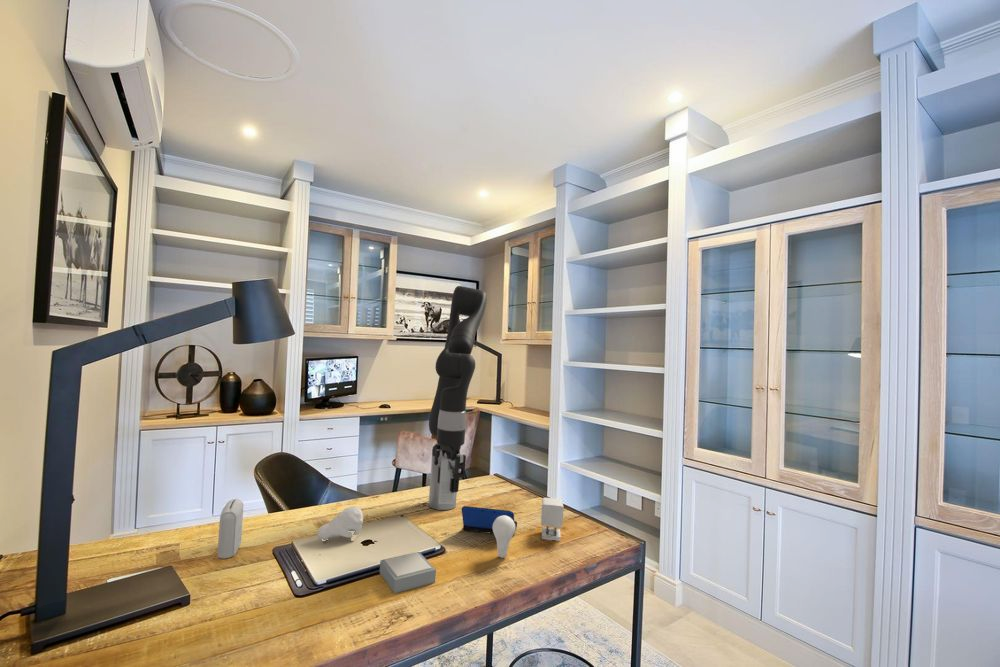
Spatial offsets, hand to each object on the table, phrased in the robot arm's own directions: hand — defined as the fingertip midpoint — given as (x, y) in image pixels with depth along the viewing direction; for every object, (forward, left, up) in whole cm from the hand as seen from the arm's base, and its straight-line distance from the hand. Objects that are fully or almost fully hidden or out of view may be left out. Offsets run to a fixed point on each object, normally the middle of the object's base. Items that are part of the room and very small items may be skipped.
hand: (447, 487), depth 123 cm
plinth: (+8, -14, -17) cm, 23 cm away
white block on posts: (+5, +33, -17) cm, 38 cm away
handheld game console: (-6, +18, -18) cm, 26 cm away
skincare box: (0, 0, -4) cm, 4 cm away
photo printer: (-25, -49, -17) cm, 57 cm away
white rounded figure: (-19, -23, -17) cm, 34 cm away
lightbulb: (+10, +12, -17) cm, 24 cm away
